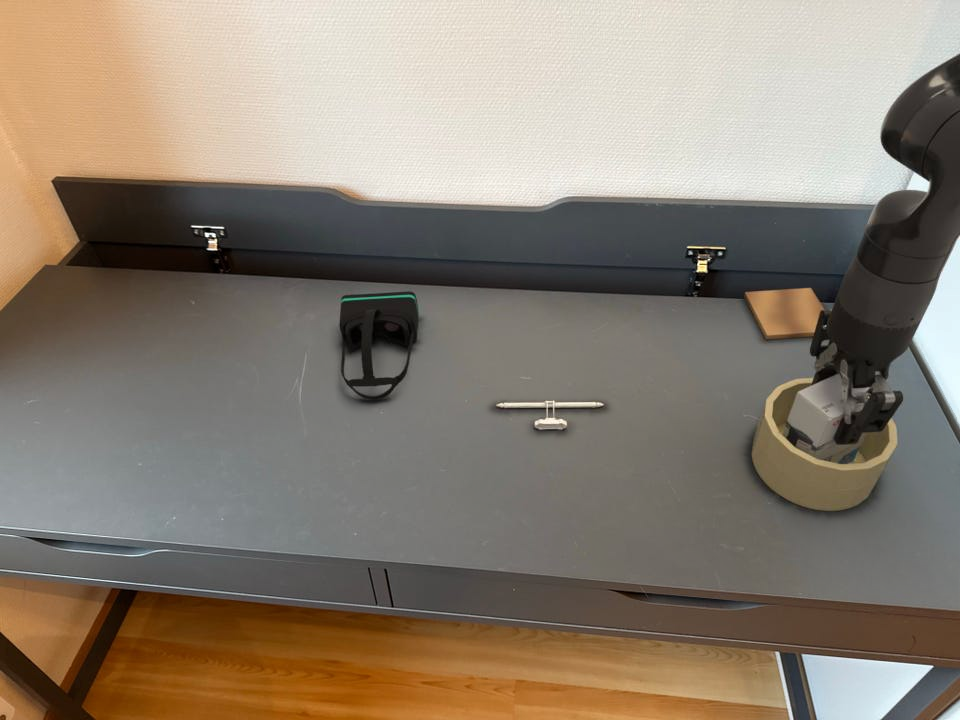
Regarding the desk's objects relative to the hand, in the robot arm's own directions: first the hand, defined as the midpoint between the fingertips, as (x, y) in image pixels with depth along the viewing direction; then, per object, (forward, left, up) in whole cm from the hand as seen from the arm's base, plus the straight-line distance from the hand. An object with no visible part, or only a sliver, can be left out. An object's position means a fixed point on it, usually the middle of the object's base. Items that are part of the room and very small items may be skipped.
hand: (830, 417), depth 78 cm
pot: (0, 0, -8) cm, 8 cm away
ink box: (0, 0, -8) cm, 8 cm away
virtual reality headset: (+53, -23, -8) cm, 58 cm away
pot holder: (-7, -27, -8) cm, 29 cm away
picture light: (+30, -10, -8) cm, 33 cm away
